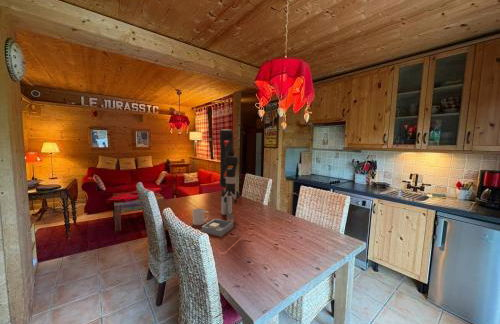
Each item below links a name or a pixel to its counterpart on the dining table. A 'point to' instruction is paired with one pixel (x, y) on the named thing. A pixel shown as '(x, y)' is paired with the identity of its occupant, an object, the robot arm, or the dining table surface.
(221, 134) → the robot arm
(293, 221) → the dining table surface
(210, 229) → the crate
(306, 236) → the dining table surface
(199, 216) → the mug
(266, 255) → the dining table surface
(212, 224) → the lid
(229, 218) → the tin
